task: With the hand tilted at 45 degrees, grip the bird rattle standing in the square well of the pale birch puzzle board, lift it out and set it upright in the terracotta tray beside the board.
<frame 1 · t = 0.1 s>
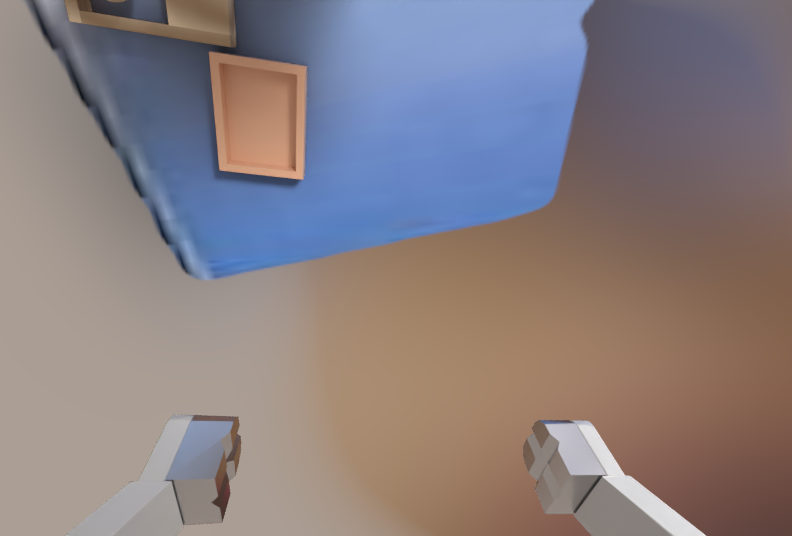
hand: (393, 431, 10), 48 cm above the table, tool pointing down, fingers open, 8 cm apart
terracotta tray: (264, 118, 50), on the table
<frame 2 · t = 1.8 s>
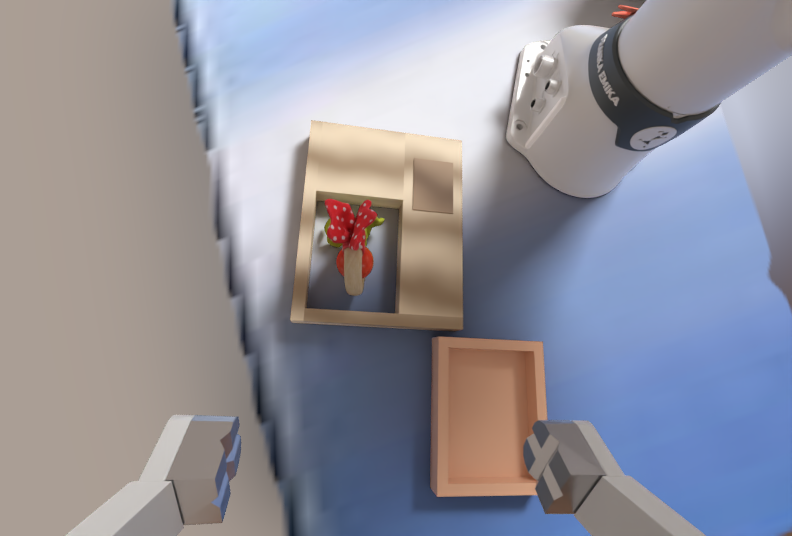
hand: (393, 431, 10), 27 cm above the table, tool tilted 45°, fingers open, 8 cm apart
terracotta tray: (483, 410, 38), on the table
puzzle board: (355, 257, 40), on the table
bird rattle: (355, 258, 40), on the table
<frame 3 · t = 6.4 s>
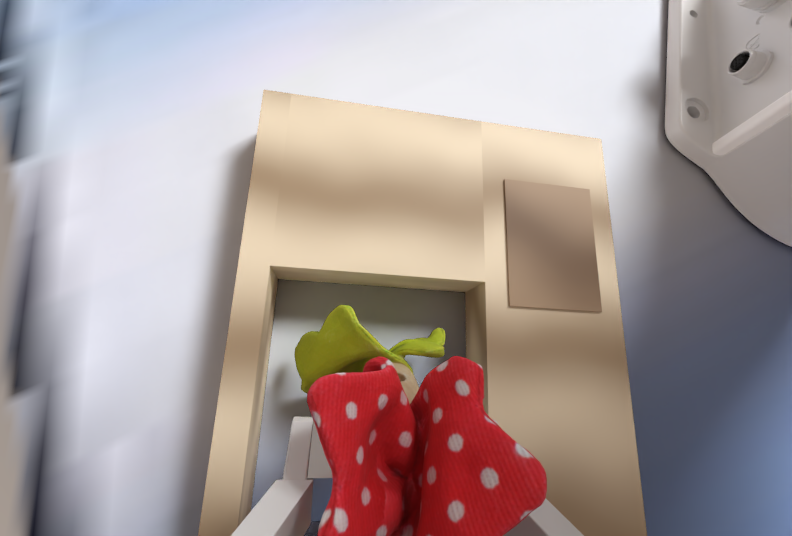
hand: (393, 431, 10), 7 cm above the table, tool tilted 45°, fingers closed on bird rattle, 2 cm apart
puzzle board: (368, 419, 16), on the table
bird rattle: (368, 419, 16), on the table, touching gripper
when the fingers open (9 cm above the table, at t = 12.2 s): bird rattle stays where it is, point 1 cm above the table.
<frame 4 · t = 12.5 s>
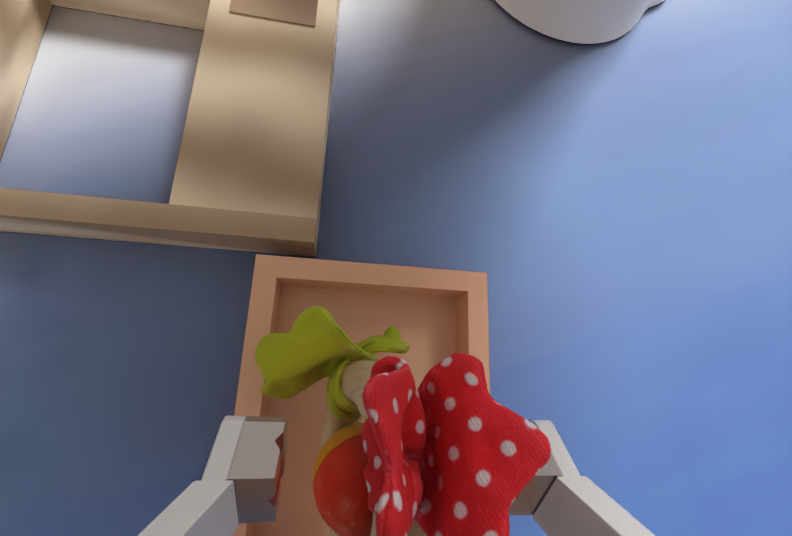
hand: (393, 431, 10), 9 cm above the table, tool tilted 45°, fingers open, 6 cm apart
terracotta tray: (363, 414, 18), on the table
puzzle board: (118, 110, 20), on the table
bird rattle: (322, 416, 17), point 1 cm above the table, touching gripper
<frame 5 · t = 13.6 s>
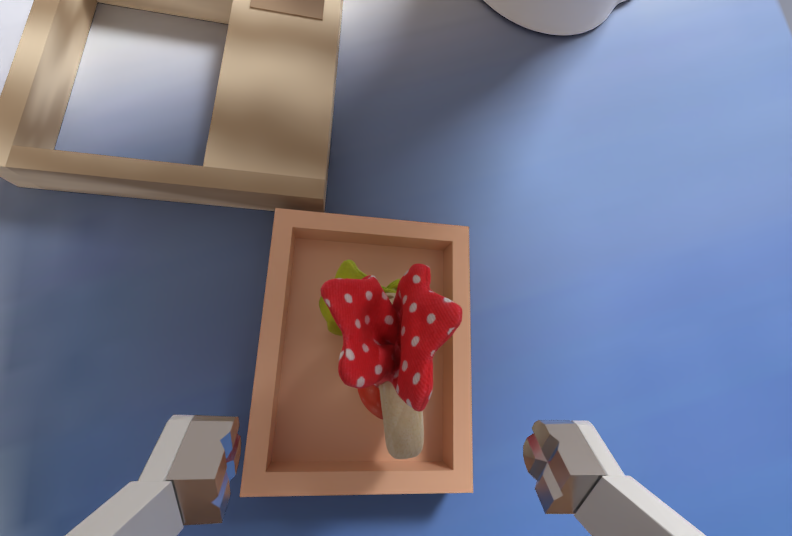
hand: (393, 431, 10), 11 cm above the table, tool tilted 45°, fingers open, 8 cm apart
terracotta tray: (365, 345, 22), on the table
puzzle board: (154, 91, 23), on the table
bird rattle: (382, 349, 21), resting on terracotta tray
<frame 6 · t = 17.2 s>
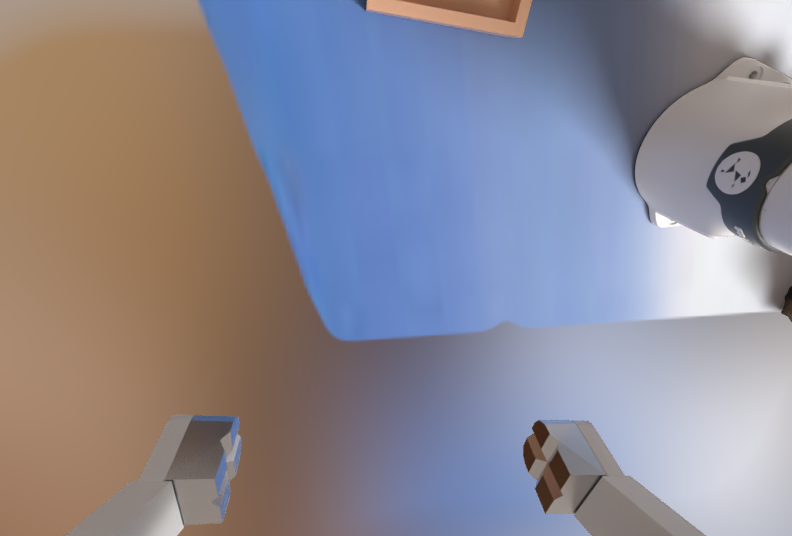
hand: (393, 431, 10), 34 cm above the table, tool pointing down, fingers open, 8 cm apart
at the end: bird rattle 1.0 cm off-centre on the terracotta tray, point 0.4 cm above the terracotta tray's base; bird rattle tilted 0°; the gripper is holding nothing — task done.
